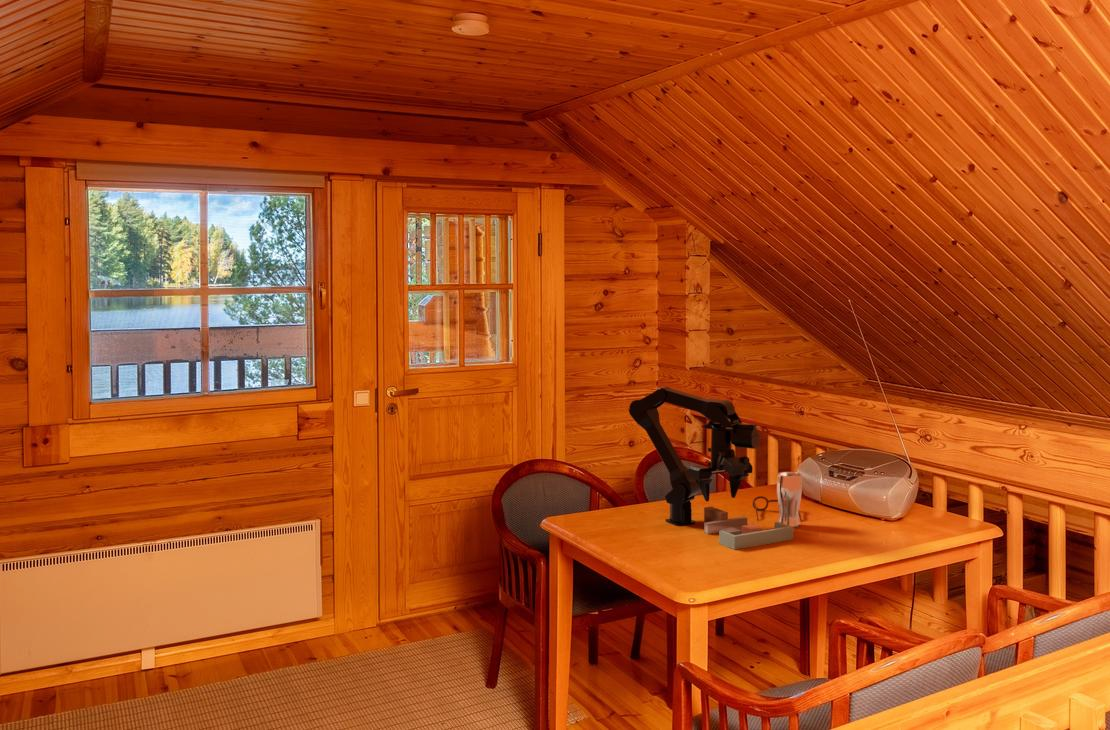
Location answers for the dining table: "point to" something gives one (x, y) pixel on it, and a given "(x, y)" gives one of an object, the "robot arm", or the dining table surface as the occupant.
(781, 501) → the beer glass
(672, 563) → the dining table surface
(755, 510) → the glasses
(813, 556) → the dining table surface
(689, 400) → the robot arm
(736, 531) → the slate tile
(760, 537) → the box
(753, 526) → the terracotta tile
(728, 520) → the scraper
